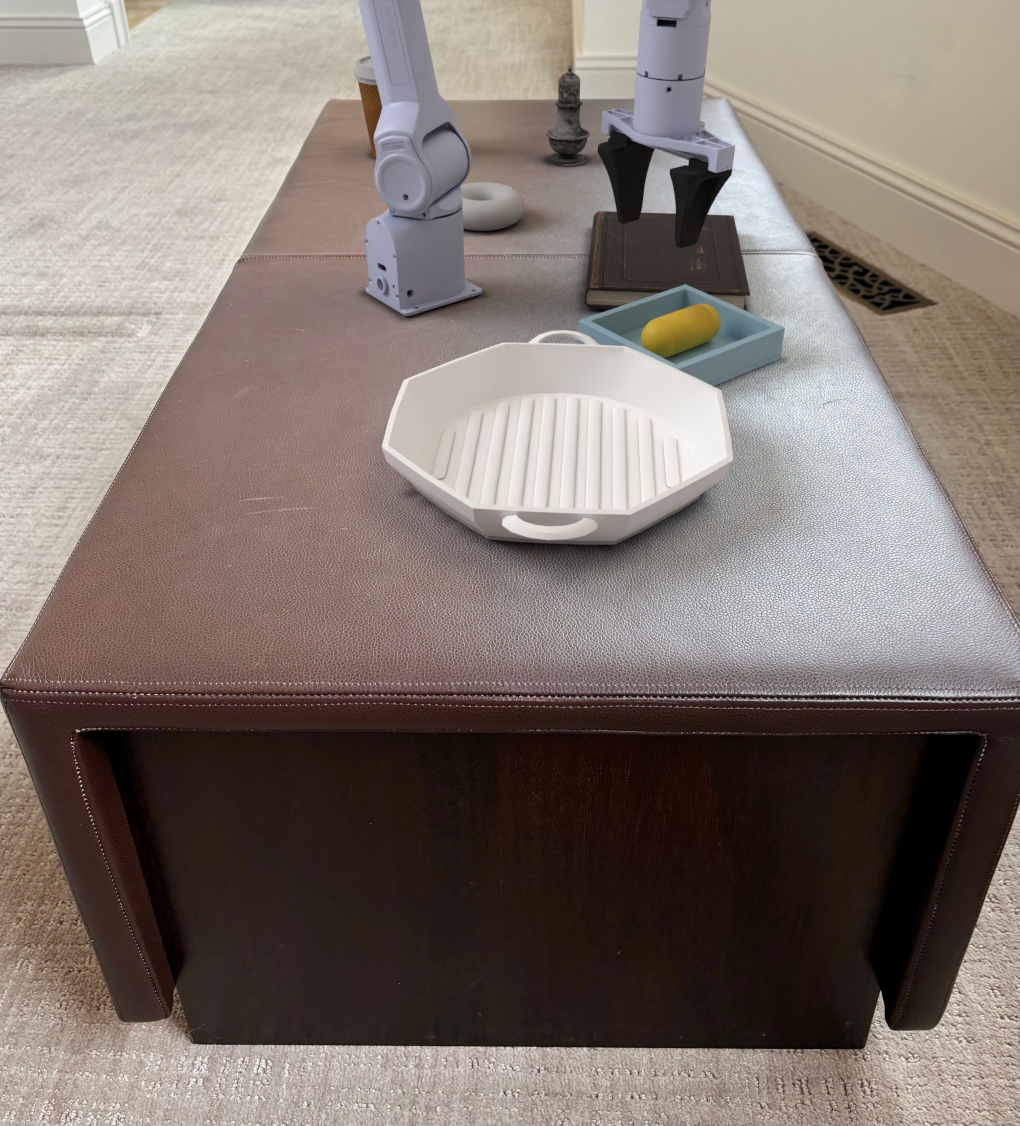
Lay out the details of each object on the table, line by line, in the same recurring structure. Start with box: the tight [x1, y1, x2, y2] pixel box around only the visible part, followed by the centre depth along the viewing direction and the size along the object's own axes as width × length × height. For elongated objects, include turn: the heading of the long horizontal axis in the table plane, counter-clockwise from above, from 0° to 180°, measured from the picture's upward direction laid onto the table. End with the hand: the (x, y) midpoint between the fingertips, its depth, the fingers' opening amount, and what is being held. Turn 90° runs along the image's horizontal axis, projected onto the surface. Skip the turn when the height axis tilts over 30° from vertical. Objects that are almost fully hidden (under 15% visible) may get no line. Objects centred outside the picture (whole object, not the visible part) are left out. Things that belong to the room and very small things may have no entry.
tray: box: [577, 284, 786, 387], centre depth 97 cm, size 14×13×3 cm
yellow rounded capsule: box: [641, 303, 721, 358], centre depth 97 cm, size 9×4×4 cm, turn 127°
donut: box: [461, 181, 526, 232], centre depth 126 cm, size 10×4×10 cm
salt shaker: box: [545, 65, 591, 167], centre depth 142 cm, size 6×6×12 cm
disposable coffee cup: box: [353, 54, 382, 159], centre depth 145 cm, size 10×10×12 cm
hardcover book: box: [583, 210, 751, 312], centre depth 114 cm, size 16×23×2 cm
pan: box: [381, 329, 734, 546], centre depth 82 cm, size 31×26×4 cm
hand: (656, 232), depth 97 cm, fingers open, 7 cm apart
